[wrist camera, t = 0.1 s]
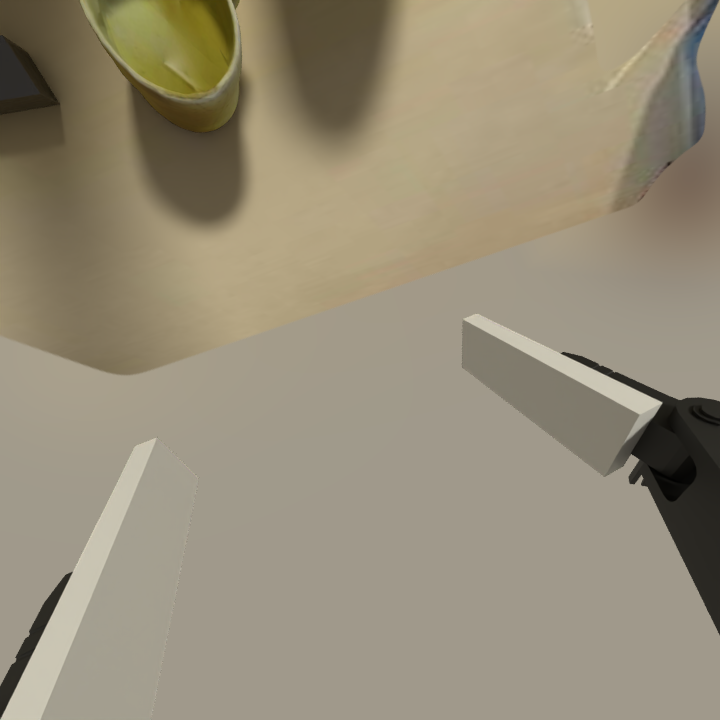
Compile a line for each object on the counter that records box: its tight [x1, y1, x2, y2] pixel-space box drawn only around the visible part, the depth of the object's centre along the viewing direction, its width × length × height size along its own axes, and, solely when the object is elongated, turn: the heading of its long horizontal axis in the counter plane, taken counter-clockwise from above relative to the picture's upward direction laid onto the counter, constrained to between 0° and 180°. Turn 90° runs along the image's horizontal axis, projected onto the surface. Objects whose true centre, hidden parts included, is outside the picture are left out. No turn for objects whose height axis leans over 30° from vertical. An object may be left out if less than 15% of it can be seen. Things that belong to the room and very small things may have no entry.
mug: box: [79, 0, 242, 132], centre depth 20 cm, size 12×10×10 cm
